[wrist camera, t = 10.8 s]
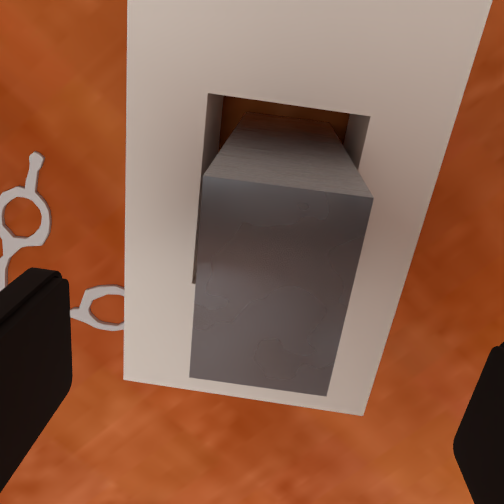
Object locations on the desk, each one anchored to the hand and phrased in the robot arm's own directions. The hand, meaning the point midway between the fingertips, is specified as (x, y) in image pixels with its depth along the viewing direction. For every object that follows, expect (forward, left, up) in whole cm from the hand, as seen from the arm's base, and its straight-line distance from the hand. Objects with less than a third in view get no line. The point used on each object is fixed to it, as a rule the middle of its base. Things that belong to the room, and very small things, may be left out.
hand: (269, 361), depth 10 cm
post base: (0, -1, -14) cm, 14 cm away
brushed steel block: (0, 0, -14) cm, 14 cm away
